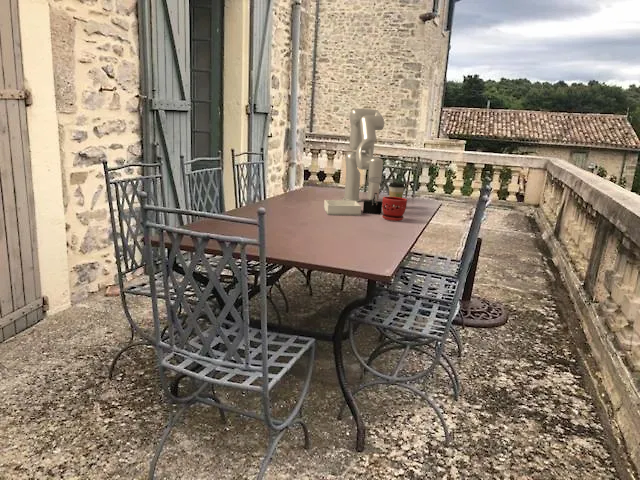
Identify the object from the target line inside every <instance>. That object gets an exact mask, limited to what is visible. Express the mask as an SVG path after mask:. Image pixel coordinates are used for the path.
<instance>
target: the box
mask: <svg viewBox="0 0 640 480" xmlns="http://www.w3.org/2000/svg"><path fill="white" fill-rule="evenodd" d="M323 201H324V202H323V210H324V211H326V212H325V213H326V214H327V216H353V217H354V216H355V217H358V216H360V217H361V214H362V205H361V204H360V203H359V202H356V201H343V200H342V199H339V200H338V199H335V200H334V199H329V200H328V199H324V200H323Z"/></svg>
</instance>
